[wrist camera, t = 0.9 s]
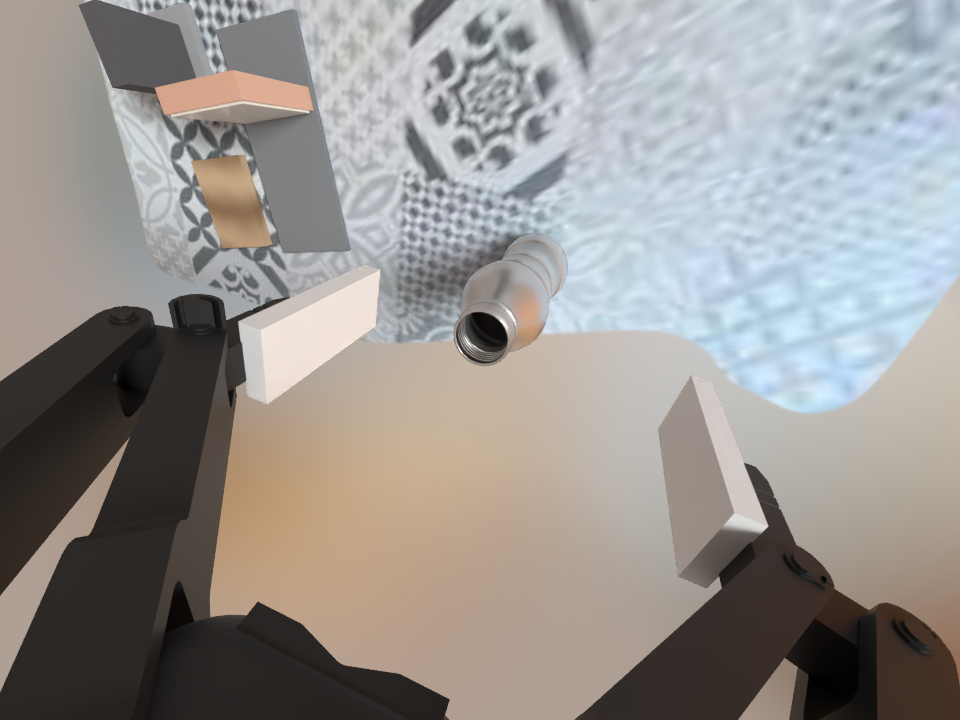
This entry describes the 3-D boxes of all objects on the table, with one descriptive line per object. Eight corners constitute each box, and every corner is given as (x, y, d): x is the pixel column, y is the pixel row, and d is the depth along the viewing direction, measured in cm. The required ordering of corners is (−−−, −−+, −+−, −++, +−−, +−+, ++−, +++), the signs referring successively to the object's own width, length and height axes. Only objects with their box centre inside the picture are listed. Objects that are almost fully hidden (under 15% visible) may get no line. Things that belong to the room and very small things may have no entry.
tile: (239, 100, 42) (154, 87, 34) (308, 87, 39) (232, 69, 31) (246, 124, 43) (165, 117, 35) (314, 112, 40) (242, 102, 32)
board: (200, 161, 47) (190, 161, 46) (245, 155, 45) (236, 155, 44) (230, 246, 51) (222, 248, 50) (272, 244, 49) (265, 246, 48)
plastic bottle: (504, 289, 43) (430, 376, 26) (511, 224, 39) (432, 275, 22) (564, 299, 41) (526, 398, 24) (576, 233, 38) (543, 294, 21)
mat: (220, 31, 40) (216, 29, 39) (296, 10, 37) (292, 9, 36) (286, 252, 49) (283, 253, 49) (350, 249, 46) (347, 250, 46)
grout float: (157, 16, 41) (59, -14, 34) (191, 5, 40) (96, -29, 32) (191, 116, 45) (110, 108, 38) (224, 110, 43) (146, 101, 36)
